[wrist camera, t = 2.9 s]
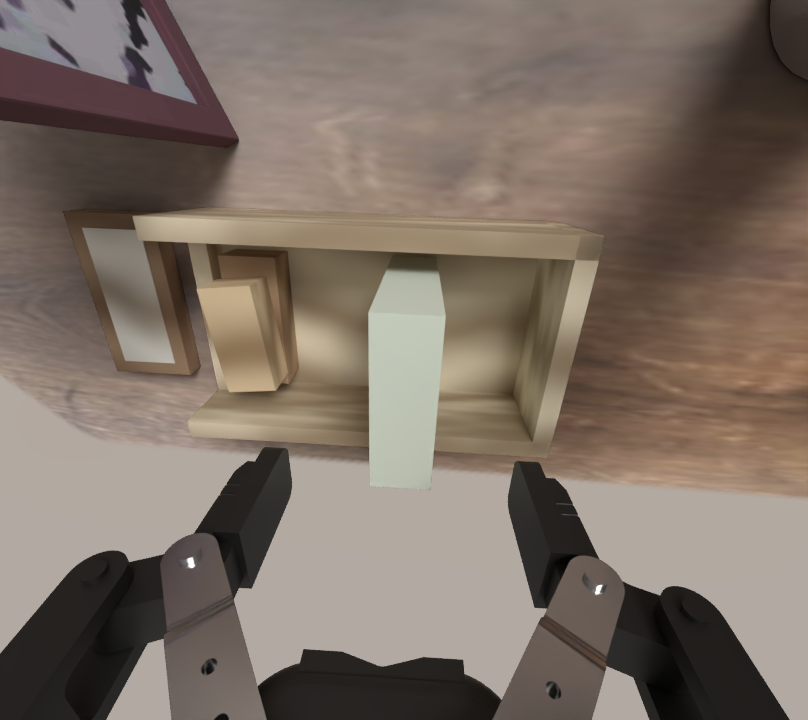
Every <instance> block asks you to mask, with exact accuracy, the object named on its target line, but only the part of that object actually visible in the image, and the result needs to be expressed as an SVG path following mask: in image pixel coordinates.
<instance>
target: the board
mask: <svg viewBox="0 0 808 720" xmlns="http://www.w3.org/2000/svg"><path fill="white" fill-rule="evenodd" d="M63 213H64V216H65V219H66V222H67V224H68V227H69V230H70V233H71V236H72V239H73V242H74V245H75V248H76V251H77V254H78V257H79V260H80V263H81V266H82V268H83V271H84V274H85V277H86V280H87V283H88V286H89V289H90V292H91V295H92V298H93V301H94V304H95V307H96V310H97V312H98V315H99V318H100V321H101V324H102V327H103V330H104V333H105V336H106V339H107V342H108V345H109V348H110V351H111V354H112V356H113V359H114V362H115V365H116V368H117V371H128V372H146V373H164V374H182V375H191V374H192V373H193V372H195V371H196V370H197V369H198V368H199V367H201V366H200V362H199V357H198V353H197V349H196V344H195V340H194V336H193V331H192V327H191V323H190V318H189V314H188V309H187V305H186V301H185V296H184V292H183V288H182V283H181V279H180V275H179V270H178V266H177V262H176V257H175V253H174V248H173V244H172V242H162V241H140V240H139V239H138V236H137V232H136V228H135V224H134V221H133V217H132V216H138V215H146V214H154V213H152V212H128V211H105V210H70V211H63Z"/></svg>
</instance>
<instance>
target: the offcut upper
mask: <svg viewBox="0 0 808 720" xmlns="http://www.w3.org/2000/svg"><path fill="white" fill-rule="evenodd" d="M197 293H198V296H199V299H200V302H201V305H202V308H203V312H204V315H205V318H206V321H207V324H208V327H209V331H210V334H211V337H212V340H213V343H214V346H215V350H216V353H217V356H218V359H219V362H220V365H221V369H222V372H223V375H224V378H225V381H226V384H227V387H228V391H229V392H252V391H276V390H277V388H278V387H279V385H280V384H281V382H282V381H283V380H284V378H285V377H286V375H287V374H288V370H287V365H286V361H285V357H284V352H283V348H282V344H281V339H280V335H279V331H278V326H277V322H276V318H275V313H274V309H273V305H272V300H271V296H270V292H269V287H268V283H267V279H266V276H256V277H240V278H223V279H216V280H214V281H212V282H210V283H208V284H206V285H204V286H202V287H200V288H197Z"/></svg>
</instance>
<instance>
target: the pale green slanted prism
mask: <svg viewBox="0 0 808 720" xmlns="http://www.w3.org/2000/svg"><path fill="white" fill-rule="evenodd" d="M445 319H446V315H445V308H444V302H443V296H442V289H441V283H440V276H439V270H438V264H437V258H428V257H406V256H392V258H391V260H390V263H389V265H388V267H387V270H386V272H385V274H384V277H383V279H382V281H381V284H380V286H379V289H378V291H377V293H376V296H375V298H374V300H373V303H372V305H371V307H370V310H369V312H368V333H369V468H370V469H369V470H370V473H369V474H370V486H372V487H388V488H404V489H419V490H430V488H431V477H432V466H433V454H434V443H435V432H436V420H437V409H438V398H439V387H440V375H441V364H442V353H443V342H444V330H445Z"/></svg>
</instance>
